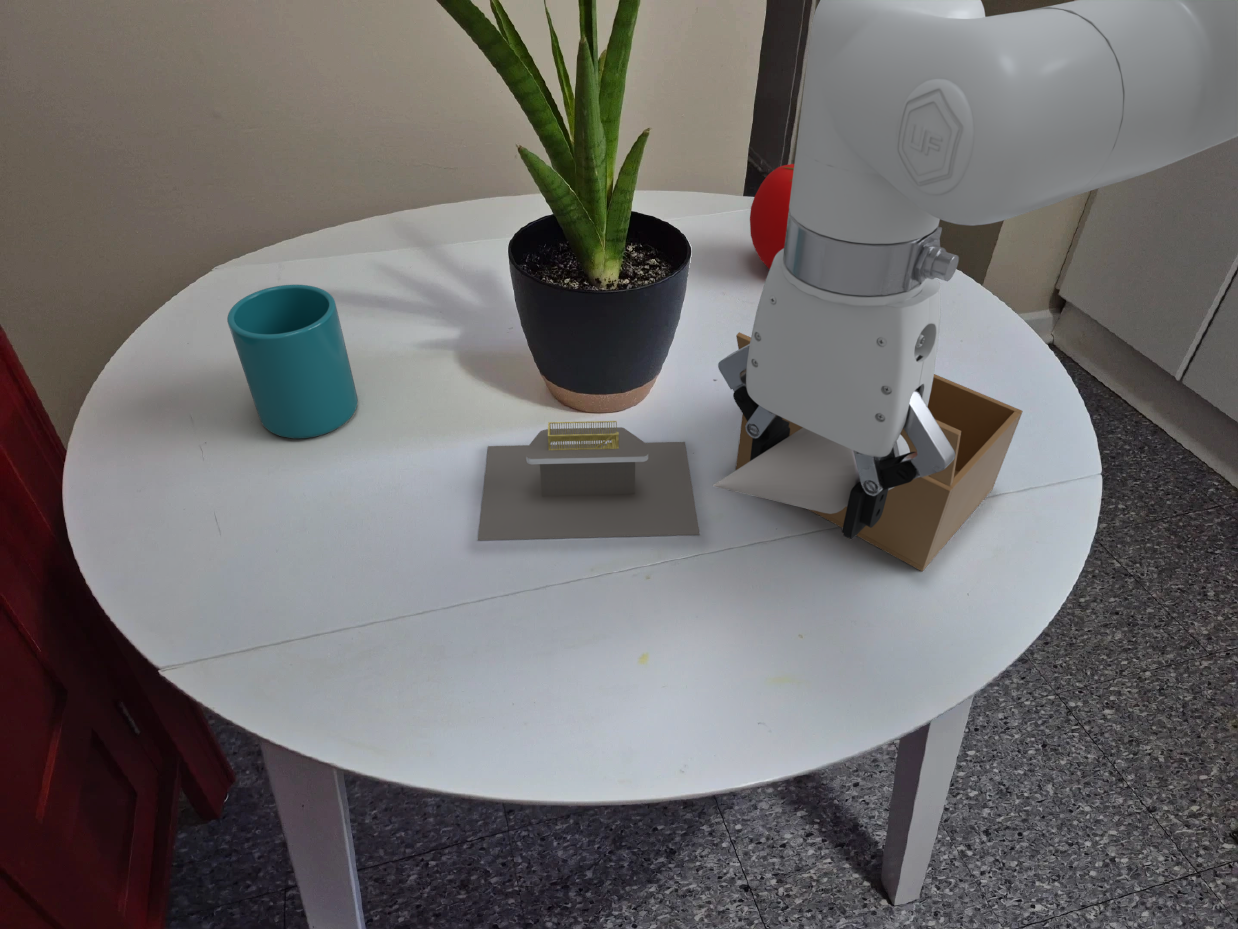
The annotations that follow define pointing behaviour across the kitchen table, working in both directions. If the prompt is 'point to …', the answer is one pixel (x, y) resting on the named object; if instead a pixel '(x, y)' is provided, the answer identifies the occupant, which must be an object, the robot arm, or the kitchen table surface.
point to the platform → (587, 487)
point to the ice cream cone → (802, 473)
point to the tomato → (771, 213)
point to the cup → (294, 359)
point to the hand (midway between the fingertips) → (811, 500)
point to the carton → (926, 505)
